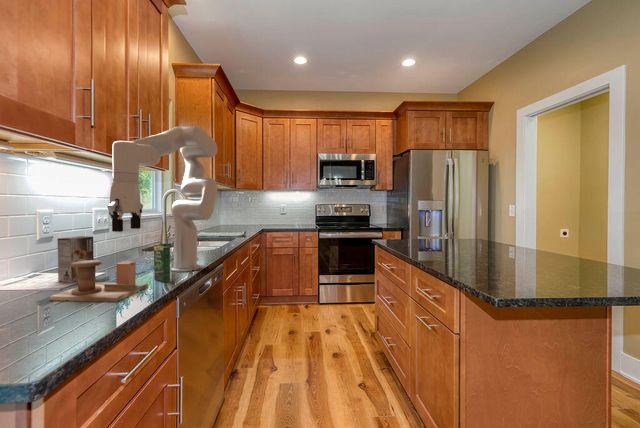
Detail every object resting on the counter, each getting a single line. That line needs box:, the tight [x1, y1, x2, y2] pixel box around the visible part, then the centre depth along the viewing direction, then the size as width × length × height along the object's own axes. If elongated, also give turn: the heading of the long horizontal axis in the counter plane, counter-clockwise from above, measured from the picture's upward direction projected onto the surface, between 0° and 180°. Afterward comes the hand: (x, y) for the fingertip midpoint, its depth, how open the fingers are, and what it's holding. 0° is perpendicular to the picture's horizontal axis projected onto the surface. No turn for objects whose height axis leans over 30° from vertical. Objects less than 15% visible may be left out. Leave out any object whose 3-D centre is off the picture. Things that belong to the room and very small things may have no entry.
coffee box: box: [57, 235, 95, 283], centre depth 119 cm, size 9×6×16 cm
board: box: [49, 281, 149, 303], centre depth 102 cm, size 17×20×3 cm
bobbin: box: [71, 259, 103, 295], centre depth 99 cm, size 8×8×9 cm
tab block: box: [115, 260, 137, 286], centre depth 106 cm, size 4×4×8 cm
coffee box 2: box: [153, 245, 171, 283], centre depth 120 cm, size 8×3×13 cm, turn 51°
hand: (127, 229), depth 106 cm, fingers open, 9 cm apart
